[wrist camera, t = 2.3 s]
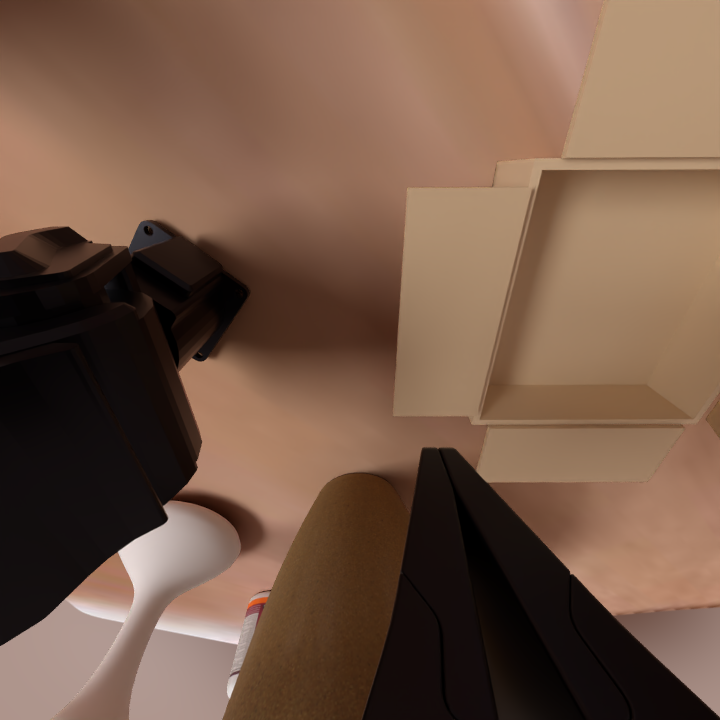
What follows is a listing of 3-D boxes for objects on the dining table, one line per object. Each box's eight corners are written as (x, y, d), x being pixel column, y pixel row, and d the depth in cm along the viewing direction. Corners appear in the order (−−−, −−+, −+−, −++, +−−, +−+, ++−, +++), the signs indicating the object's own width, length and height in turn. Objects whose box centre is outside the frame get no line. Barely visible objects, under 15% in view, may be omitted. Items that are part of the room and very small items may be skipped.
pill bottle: (307, 599, 40) (290, 736, 30) (282, 615, 42) (259, 747, 33) (265, 584, 38) (232, 725, 28) (241, 602, 40) (203, 738, 31)
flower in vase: (114, 482, 28) (-650, 1444, 7) (242, 492, 29) (-89, 1391, 8) (146, 559, 35) (-194, 1173, 13) (250, 565, 36) (84, 1157, 14)
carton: (384, 437, 26) (388, 482, 22) (405, 23, 13) (422, -37, 10) (617, 436, 26) (662, 481, 22) (853, 21, 13) (1046, -40, 10)
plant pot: (454, 523, 32) (527, 792, 18) (320, 552, 34) (294, 805, 21) (412, 418, 25) (479, 729, 11) (248, 466, 27) (134, 762, 14)
